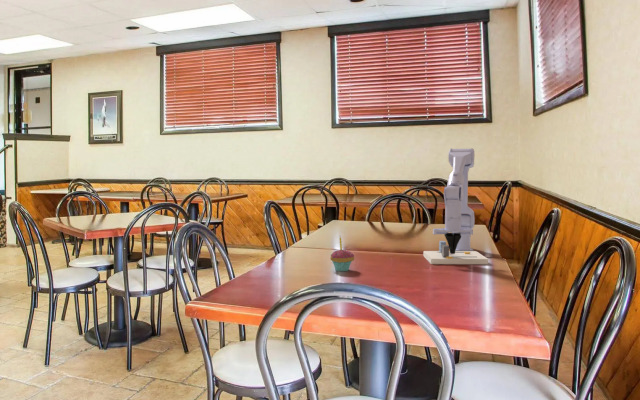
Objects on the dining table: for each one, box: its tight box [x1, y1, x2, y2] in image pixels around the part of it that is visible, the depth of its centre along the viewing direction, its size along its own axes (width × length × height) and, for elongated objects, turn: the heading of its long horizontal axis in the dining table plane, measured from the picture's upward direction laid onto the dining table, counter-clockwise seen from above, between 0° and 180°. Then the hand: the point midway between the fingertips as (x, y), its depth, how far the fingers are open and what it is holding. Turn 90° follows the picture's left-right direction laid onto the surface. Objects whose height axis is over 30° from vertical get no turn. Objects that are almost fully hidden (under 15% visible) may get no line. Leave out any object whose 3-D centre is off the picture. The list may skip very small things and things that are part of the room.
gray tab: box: [442, 244, 450, 257], centre depth 174 cm, size 3×2×4 cm, turn 178°
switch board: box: [422, 250, 489, 265], centre depth 178 cm, size 15×21×3 cm
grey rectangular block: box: [438, 240, 447, 252], centre depth 183 cm, size 3×2×4 cm, turn 178°
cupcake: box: [330, 236, 356, 272], centre depth 162 cm, size 9×8×12 cm
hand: (452, 253), depth 174 cm, fingers closed
